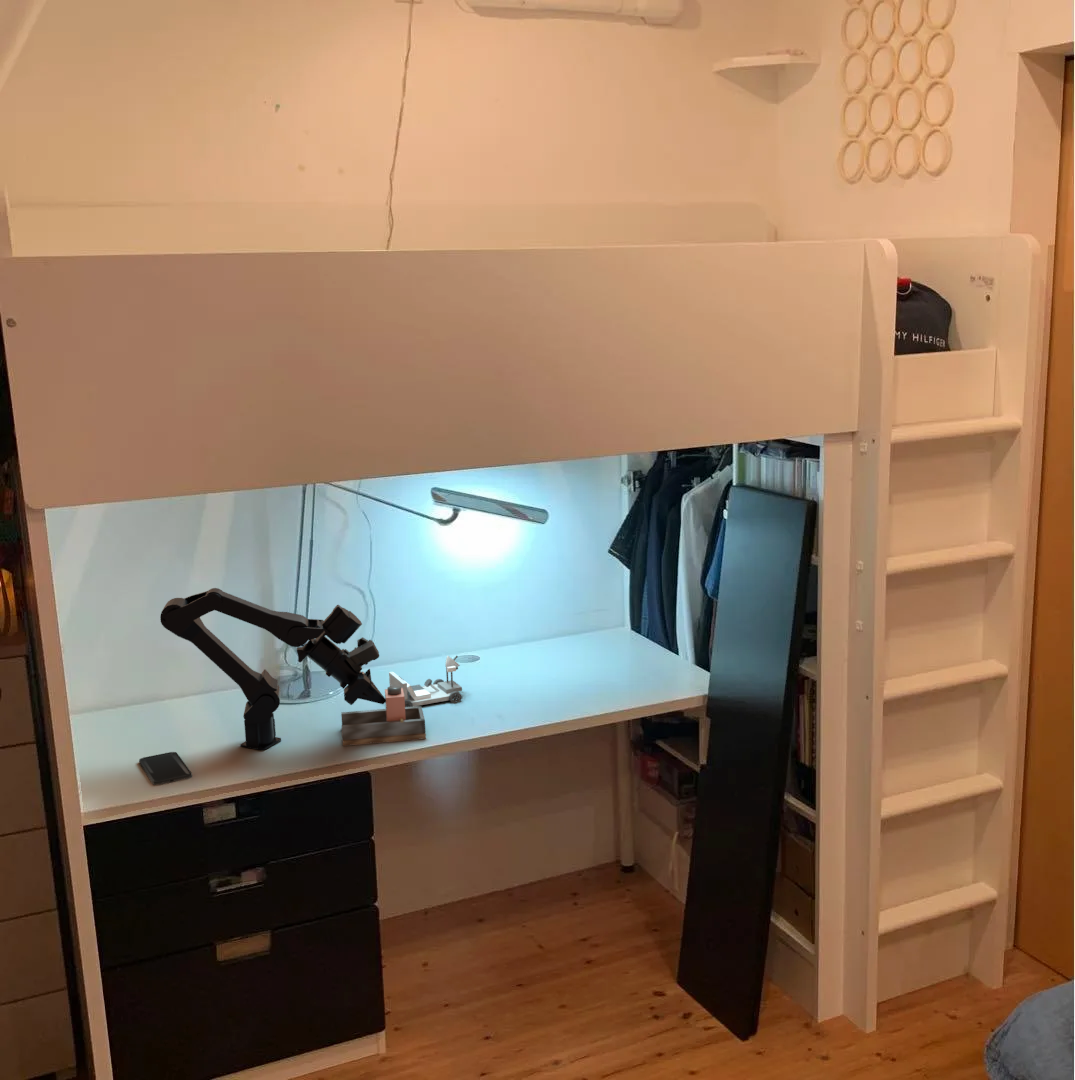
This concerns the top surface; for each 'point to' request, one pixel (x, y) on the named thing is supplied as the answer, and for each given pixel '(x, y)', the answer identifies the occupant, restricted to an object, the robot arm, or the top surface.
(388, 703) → the slider
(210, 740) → the top surface
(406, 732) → the track
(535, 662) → the top surface
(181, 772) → the phone
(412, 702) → the toy car
